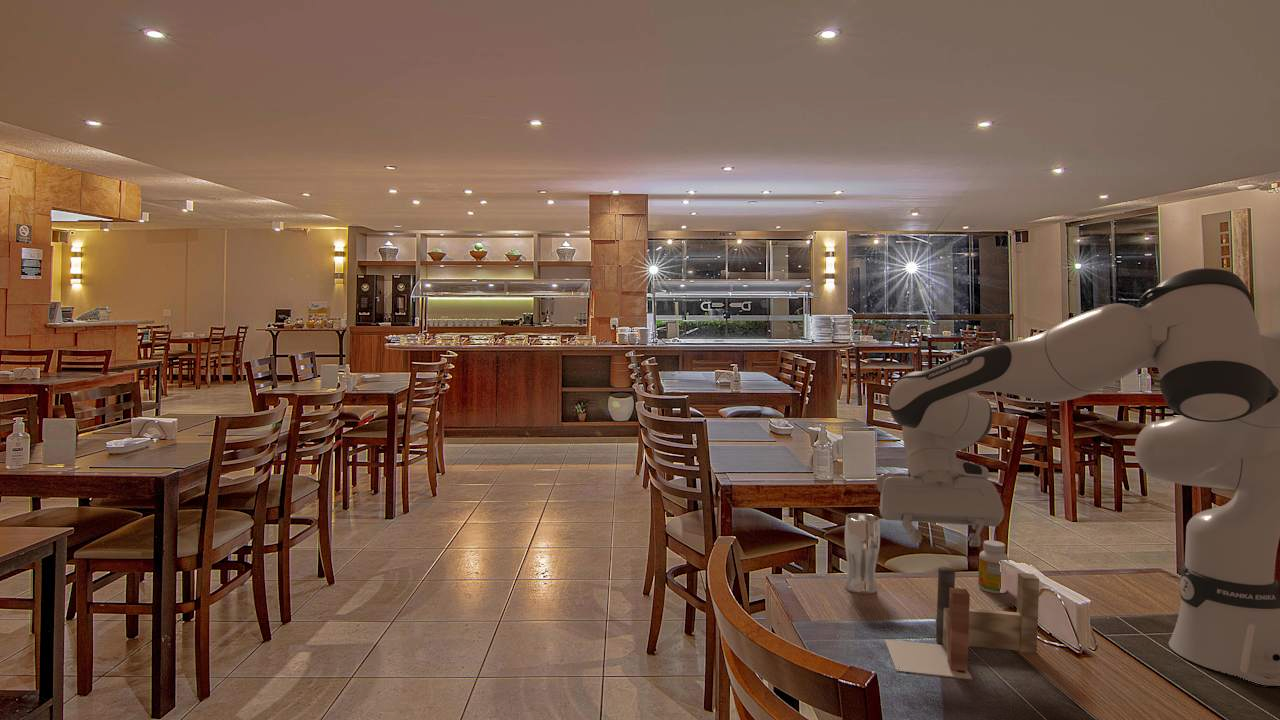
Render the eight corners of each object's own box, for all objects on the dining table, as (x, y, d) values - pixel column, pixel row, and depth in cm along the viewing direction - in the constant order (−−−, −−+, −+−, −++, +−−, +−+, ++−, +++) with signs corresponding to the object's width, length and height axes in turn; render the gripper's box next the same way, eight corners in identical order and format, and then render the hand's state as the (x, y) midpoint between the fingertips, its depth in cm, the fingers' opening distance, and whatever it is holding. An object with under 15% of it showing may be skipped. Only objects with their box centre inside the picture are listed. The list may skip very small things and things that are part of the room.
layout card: (953, 647, 113) (953, 645, 113) (971, 679, 102) (971, 677, 102) (884, 640, 115) (884, 639, 115) (896, 671, 104) (896, 670, 104)
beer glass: (881, 596, 134) (883, 523, 134) (845, 593, 136) (846, 520, 135) (876, 584, 141) (877, 513, 141) (841, 581, 143) (843, 511, 142)
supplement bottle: (978, 582, 143) (979, 537, 142) (1006, 587, 140) (1008, 541, 140) (978, 591, 138) (979, 544, 137) (1008, 596, 135) (1009, 548, 135)
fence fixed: (1030, 646, 113) (1033, 573, 113) (1036, 654, 111) (1039, 579, 110) (934, 638, 116) (936, 566, 116) (938, 644, 114) (940, 571, 113)
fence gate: (938, 642, 113) (940, 572, 113) (954, 643, 113) (956, 573, 112) (950, 668, 104) (952, 593, 104) (967, 670, 104) (969, 594, 103)
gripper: (877, 462, 124) (885, 530, 115) (997, 468, 120) (1014, 538, 111) (873, 481, 128) (880, 547, 119) (988, 487, 124) (1004, 556, 115)
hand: (946, 543), depth 115 cm, fingers open, 8 cm apart
